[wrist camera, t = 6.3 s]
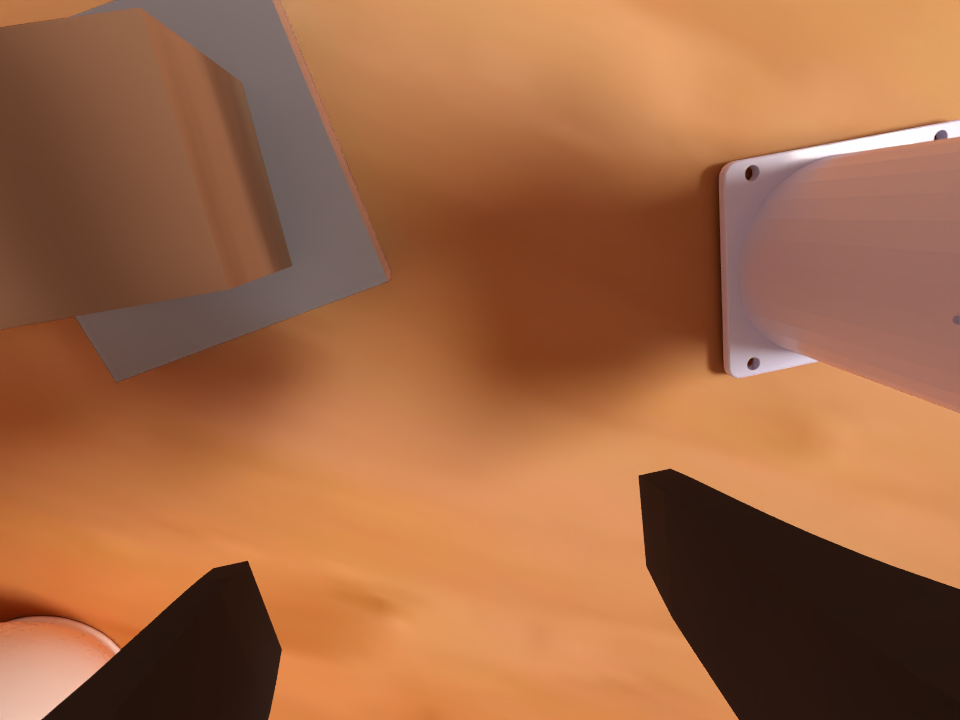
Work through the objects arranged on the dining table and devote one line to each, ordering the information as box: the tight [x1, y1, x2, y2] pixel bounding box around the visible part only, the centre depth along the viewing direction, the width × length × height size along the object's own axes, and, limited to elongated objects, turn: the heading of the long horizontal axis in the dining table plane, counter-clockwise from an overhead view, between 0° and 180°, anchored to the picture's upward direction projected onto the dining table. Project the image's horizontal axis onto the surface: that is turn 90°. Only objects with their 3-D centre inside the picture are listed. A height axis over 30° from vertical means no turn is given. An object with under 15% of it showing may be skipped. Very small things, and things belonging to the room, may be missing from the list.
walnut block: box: [0, 7, 292, 330], centre depth 12 cm, size 5×5×5 cm
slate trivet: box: [68, 0, 392, 382], centre depth 15 cm, size 9×9×2 cm
